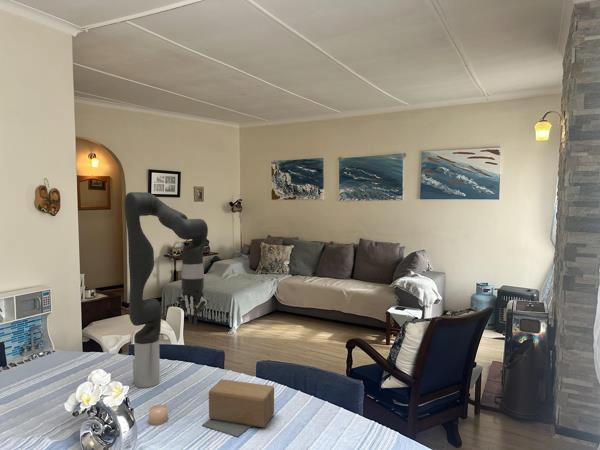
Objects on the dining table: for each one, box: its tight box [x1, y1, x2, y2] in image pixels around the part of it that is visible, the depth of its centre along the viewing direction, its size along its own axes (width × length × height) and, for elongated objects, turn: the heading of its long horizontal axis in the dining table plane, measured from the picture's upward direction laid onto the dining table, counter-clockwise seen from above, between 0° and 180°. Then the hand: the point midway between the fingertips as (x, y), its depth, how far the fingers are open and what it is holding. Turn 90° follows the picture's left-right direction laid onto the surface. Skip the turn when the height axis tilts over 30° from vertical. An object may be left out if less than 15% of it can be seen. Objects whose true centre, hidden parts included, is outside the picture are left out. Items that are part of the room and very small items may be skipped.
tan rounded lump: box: [148, 404, 169, 426], centre depth 140 cm, size 6×6×4 cm
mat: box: [201, 418, 253, 438], centre depth 140 cm, size 14×14×1 cm
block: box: [208, 378, 275, 428], centre depth 142 cm, size 10×10×20 cm
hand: (192, 324), depth 150 cm, fingers closed
